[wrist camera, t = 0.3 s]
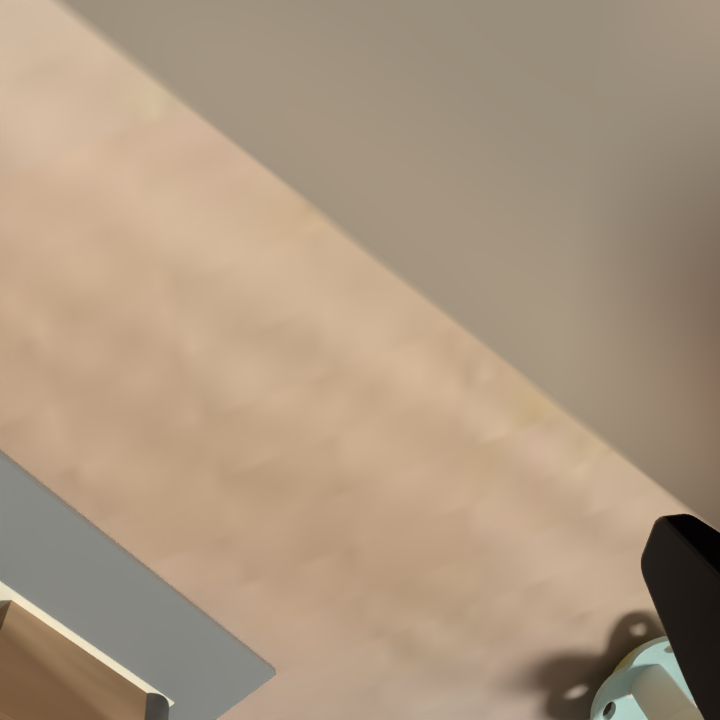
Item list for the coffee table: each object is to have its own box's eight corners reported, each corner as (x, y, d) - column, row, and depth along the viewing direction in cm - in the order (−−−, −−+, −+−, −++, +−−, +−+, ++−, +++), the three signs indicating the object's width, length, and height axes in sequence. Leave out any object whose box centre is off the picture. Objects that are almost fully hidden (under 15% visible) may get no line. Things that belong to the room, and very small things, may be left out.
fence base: (147, 727, 28) (137, 839, 24) (-15, 619, 25) (-60, 729, 21) (177, 704, 28) (172, 814, 24) (18, 593, 25) (-20, 698, 20)
